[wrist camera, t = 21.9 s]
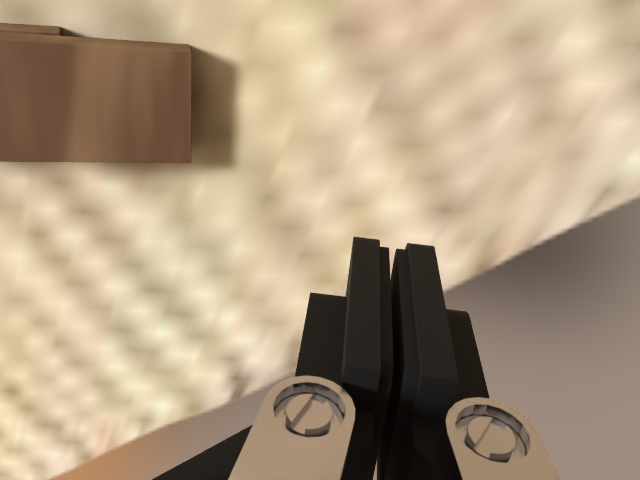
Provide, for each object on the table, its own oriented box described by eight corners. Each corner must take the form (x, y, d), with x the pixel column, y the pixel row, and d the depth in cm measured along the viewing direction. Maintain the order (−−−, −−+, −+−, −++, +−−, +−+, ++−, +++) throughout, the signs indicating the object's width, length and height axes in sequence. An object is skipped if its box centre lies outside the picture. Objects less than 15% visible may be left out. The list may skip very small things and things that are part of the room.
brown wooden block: (188, 149, 27) (-44, 146, 25) (188, 44, 25) (-68, 27, 22) (190, 162, 26) (-55, 160, 23) (191, 52, 24) (-83, 34, 21)
